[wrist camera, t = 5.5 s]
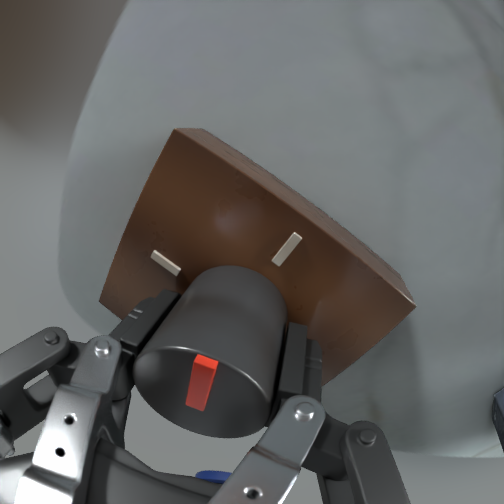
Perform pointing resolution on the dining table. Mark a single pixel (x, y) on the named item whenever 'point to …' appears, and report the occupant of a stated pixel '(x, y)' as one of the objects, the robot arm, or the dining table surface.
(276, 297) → the dial
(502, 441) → the box
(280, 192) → the dial panel
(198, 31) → the dining table surface
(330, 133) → the dining table surface
